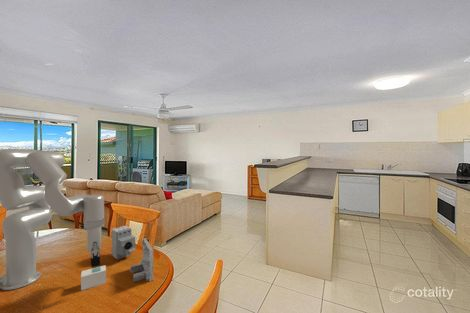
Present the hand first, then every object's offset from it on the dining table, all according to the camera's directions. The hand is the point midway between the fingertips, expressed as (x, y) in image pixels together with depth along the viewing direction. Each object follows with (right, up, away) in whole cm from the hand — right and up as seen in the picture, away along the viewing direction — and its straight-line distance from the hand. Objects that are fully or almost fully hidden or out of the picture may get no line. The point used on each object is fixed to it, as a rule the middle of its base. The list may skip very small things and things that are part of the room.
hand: (95, 261), depth 91 cm
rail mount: (+17, -10, +8) cm, 21 cm away
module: (-1, -10, 0) cm, 10 cm away
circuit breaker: (-1, -10, +25) cm, 27 cm away
